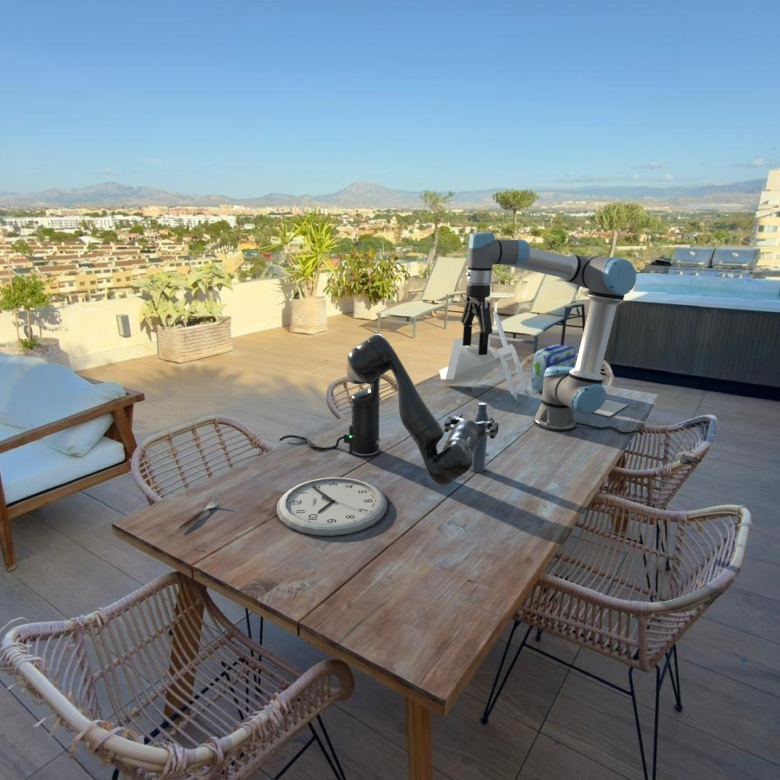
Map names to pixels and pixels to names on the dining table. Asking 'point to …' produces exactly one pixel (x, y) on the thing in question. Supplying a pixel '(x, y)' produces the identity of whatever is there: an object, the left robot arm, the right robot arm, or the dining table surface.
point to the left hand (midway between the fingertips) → (475, 418)
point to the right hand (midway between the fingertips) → (474, 350)
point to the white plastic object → (482, 363)
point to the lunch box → (550, 362)
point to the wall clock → (331, 506)
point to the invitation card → (610, 408)
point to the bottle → (480, 451)
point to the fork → (209, 506)
